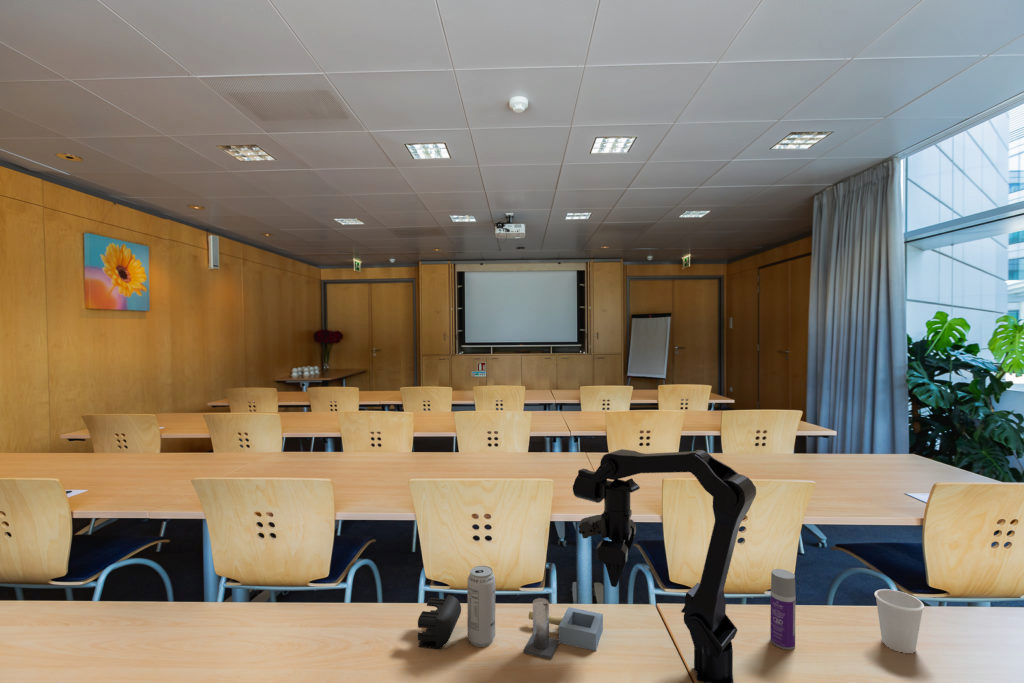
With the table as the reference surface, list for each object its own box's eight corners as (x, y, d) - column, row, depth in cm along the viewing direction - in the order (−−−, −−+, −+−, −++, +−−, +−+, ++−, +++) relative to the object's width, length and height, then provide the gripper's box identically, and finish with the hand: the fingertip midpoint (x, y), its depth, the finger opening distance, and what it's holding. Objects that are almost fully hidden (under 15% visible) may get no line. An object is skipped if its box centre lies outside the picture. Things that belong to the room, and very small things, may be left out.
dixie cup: (893, 657, 101) (893, 609, 101) (865, 633, 109) (865, 588, 109) (934, 658, 101) (935, 609, 101) (903, 634, 109) (903, 589, 109)
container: (770, 646, 105) (770, 575, 105) (770, 634, 109) (770, 566, 109) (795, 652, 103) (796, 580, 102) (794, 640, 107) (795, 571, 107)
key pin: (551, 641, 105) (550, 599, 105) (546, 651, 102) (546, 608, 102) (535, 638, 106) (535, 597, 106) (531, 647, 103) (530, 605, 103)
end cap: (449, 652, 103) (449, 620, 103) (417, 649, 104) (417, 617, 104) (461, 624, 113) (461, 595, 113) (431, 622, 114) (431, 592, 114)
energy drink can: (498, 645, 105) (498, 575, 105) (470, 650, 103) (470, 579, 103) (491, 629, 111) (491, 562, 110) (465, 634, 109) (465, 566, 109)
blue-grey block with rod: (602, 629, 110) (602, 613, 110) (595, 651, 103) (595, 633, 103) (535, 615, 116) (535, 600, 116) (523, 634, 109) (523, 618, 109)
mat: (558, 642, 106) (558, 639, 106) (551, 659, 100) (551, 656, 100) (532, 636, 108) (532, 633, 108) (523, 652, 102) (523, 650, 102)
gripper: (590, 491, 122) (590, 554, 122) (572, 516, 104) (571, 590, 104) (636, 496, 118) (636, 561, 118) (625, 523, 100) (625, 600, 100)
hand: (617, 576), depth 110 cm, fingers open, 9 cm apart
